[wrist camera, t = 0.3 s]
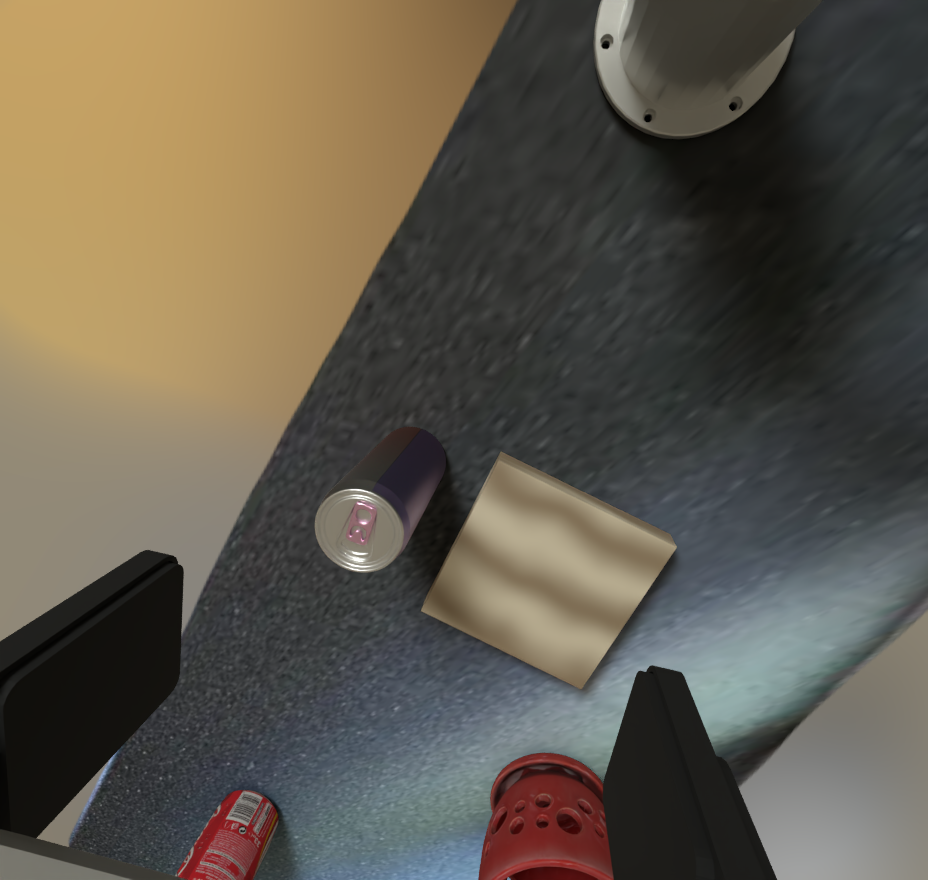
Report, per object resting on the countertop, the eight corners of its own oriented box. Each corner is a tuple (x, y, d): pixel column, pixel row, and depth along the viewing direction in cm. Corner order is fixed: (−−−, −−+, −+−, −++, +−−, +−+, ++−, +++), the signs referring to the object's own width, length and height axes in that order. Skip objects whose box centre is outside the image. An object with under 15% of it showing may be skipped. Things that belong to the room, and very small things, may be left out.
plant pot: (502, 841, 58) (492, 979, 46) (477, 741, 54) (460, 862, 43) (627, 838, 55) (650, 982, 44) (609, 733, 52) (628, 859, 41)
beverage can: (456, 438, 46) (418, 506, 32) (435, 499, 48) (390, 589, 34) (391, 414, 46) (324, 471, 32) (372, 476, 48) (301, 555, 34)
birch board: (500, 451, 46) (498, 460, 43) (670, 534, 46) (676, 547, 43) (426, 596, 51) (420, 610, 48) (579, 671, 51) (581, 689, 48)
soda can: (234, 831, 63) (166, 952, 51) (216, 783, 61) (142, 897, 50) (290, 831, 62) (232, 955, 50) (273, 781, 60) (210, 898, 48)
